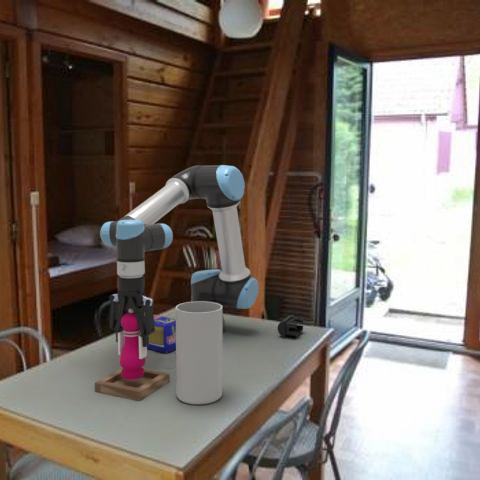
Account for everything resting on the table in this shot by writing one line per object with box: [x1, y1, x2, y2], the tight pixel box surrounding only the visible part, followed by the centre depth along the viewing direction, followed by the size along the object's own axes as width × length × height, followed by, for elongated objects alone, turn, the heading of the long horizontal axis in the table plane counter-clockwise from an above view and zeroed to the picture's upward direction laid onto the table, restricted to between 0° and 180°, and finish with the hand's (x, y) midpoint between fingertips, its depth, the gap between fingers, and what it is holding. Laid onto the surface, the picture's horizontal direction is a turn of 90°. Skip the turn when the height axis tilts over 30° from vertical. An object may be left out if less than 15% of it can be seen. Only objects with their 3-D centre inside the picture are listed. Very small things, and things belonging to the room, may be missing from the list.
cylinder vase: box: [175, 301, 223, 405], centre depth 149 cm, size 12×12×25 cm
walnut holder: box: [94, 367, 171, 402], centre depth 156 cm, size 15×15×2 cm
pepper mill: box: [119, 308, 146, 380], centre depth 155 cm, size 7×7×20 cm
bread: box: [122, 311, 176, 354], centre depth 194 cm, size 10×25×10 cm, turn 53°
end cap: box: [277, 314, 304, 341], centre depth 205 cm, size 10×7×7 cm
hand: (132, 355), depth 155 cm, fingers closed on pepper mill, 6 cm apart
